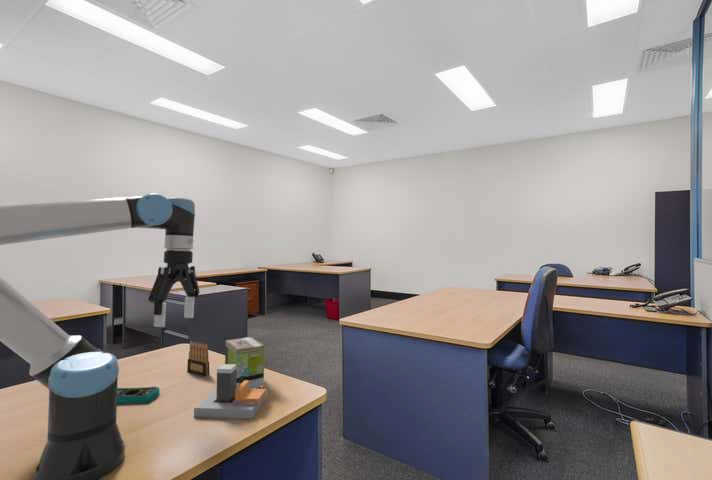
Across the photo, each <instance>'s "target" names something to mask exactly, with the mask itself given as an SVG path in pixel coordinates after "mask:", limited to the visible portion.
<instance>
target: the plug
mask: <svg viewBox="0 0 712 480" xmlns="http://www.w3.org/2000/svg"><path fill="white" fill-rule="evenodd" d="M236 369H237V364H225V363H224V364H222V365H220V366H219V367H217V369H216V389H217V401H216V403H232V402H233V401H234V400H235V389H236Z"/></svg>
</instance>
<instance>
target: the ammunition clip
mask: <svg viewBox="0 0 712 480" xmlns="http://www.w3.org/2000/svg"><path fill="white" fill-rule="evenodd" d="M208 346H209V345H208V344H207V343H204V342H203V343H201V342H198V341H192V340H190V344H189V350H188V358H187V370H186V372H187V373H190V374H193V373H194V375H197V374H198V375H197V376H201V375H202V376H201V377H205V376H206V377H208V376H210V361H209V347H208ZM207 375H208V376H207Z"/></svg>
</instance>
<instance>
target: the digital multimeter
mask: <svg viewBox="0 0 712 480" xmlns="http://www.w3.org/2000/svg"><path fill="white" fill-rule="evenodd" d="M159 394H160V387H158V386H151V387H150V386H149V387H146V386H145V387H128V388H127V387H120V388H119V387H117V405H123V404H124V405H125V404H126V405H129V404H132V405H133V404H149V403H150V402H152V401H153V400H155V399H156V398H157V397H158V396H159Z"/></svg>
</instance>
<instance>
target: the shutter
mask: <svg viewBox="0 0 712 480" xmlns="http://www.w3.org/2000/svg"><path fill="white" fill-rule="evenodd" d="M266 390H267V388H258V389H253V388H249V380H244V381H243V382H242V383H241V384H240V385H239V386H238V387H237V388H236V389H235V402H254V403H256V404H259V403H260V401H261V400H262V399H263V397H264V396H265V395H266Z"/></svg>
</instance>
